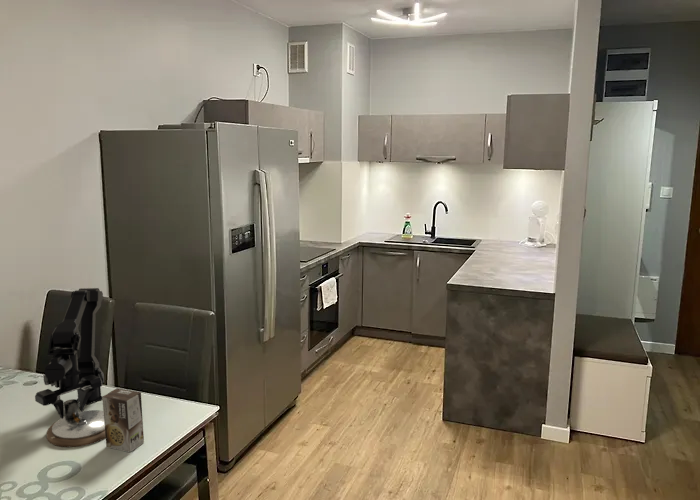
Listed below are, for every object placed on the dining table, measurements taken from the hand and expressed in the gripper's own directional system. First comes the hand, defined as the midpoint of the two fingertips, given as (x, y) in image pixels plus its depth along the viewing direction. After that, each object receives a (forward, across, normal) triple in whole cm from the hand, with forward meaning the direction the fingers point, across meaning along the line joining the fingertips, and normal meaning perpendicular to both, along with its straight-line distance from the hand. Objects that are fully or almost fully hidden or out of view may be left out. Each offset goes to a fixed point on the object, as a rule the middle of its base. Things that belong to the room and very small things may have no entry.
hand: (71, 414), depth 178 cm
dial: (+2, 0, +6) cm, 7 cm away
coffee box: (+4, -3, +24) cm, 25 cm away
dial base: (+3, 0, +6) cm, 7 cm away
